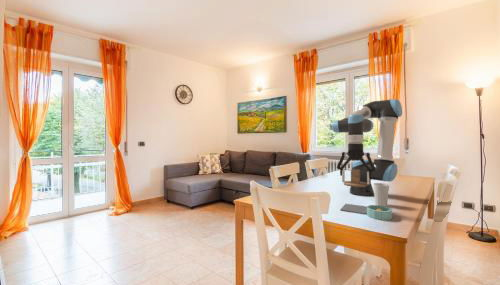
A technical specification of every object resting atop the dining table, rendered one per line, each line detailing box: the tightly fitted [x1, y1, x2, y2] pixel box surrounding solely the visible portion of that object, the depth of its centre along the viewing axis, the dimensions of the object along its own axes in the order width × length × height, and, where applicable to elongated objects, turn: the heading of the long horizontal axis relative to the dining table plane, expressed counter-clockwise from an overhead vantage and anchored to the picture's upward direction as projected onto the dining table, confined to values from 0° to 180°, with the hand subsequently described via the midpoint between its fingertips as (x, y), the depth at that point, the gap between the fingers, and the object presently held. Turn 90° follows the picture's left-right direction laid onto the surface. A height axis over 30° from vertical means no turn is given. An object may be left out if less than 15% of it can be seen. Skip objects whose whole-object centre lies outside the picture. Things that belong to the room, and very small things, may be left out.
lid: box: [343, 168, 368, 187], centre depth 132 cm, size 12×12×8 cm
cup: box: [373, 182, 390, 207], centre depth 139 cm, size 8×8×12 cm
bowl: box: [366, 204, 393, 221], centre depth 121 cm, size 11×11×4 cm
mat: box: [340, 203, 368, 216], centre depth 132 cm, size 13×13×1 cm
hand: (355, 182), depth 132 cm, fingers closed on lid, 12 cm apart
